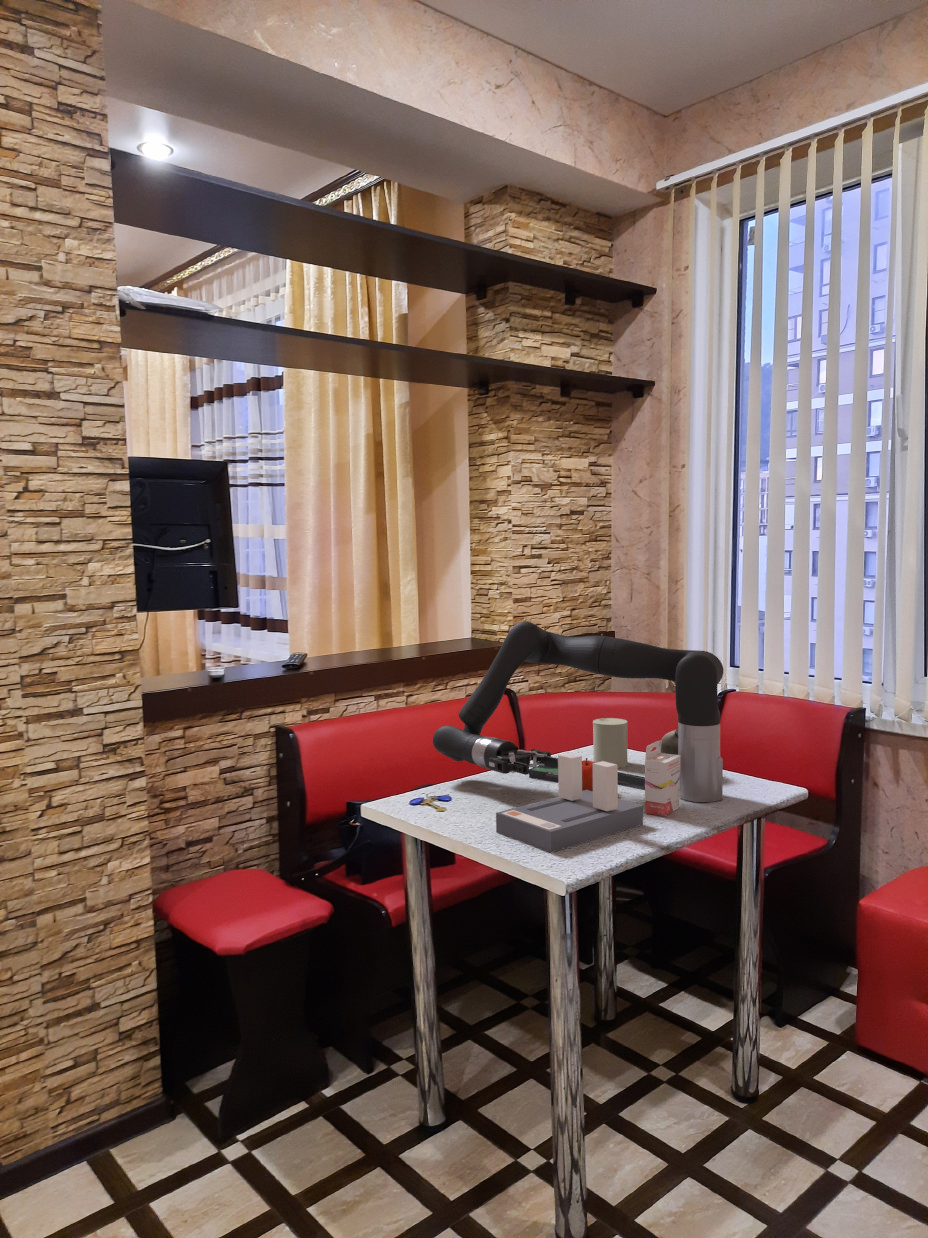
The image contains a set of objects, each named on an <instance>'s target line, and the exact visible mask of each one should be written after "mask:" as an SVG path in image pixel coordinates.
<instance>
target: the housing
mask: <svg viewBox="0 0 928 1238" xmlns="http://www.w3.org/2000/svg"><path fill="white" fill-rule="evenodd" d="M643 825H644V805H643V804H640V803H635V802H631V801H630V800H625V799H621V798H618V809H614V810H611V811H604V810H601V809H598V808H594V807H593V791H590V790H584V791H582V798H581V799H577V800H573V801H571V800H568V799H564V798H561V797H559V796H557V797H553V798H548V799H544V800H541V801H536V802H533V803H528V804H526V805H525V804H524V805H522V806H517V807H513V808H509V809H506V810H502V811H498V812H495V826H496V827H495V829H496V830H495V831H496V833H498V834H501V835H503V836H506V837H508V838H511V839H514V840H516V841H519V842H521V843H525V844H527V845H529V846H532V847H535V848H536V849H541V850H542V851H546V852H547V853H554V852H558V851H561V850H564V849H568V848H571V847H575V846H577V845H580V844H584V843H588V842H590V841H594V840H596V839H601V838H603V837H607V836H610V835H613V834H617V833H620V832H623V831H626V830H630V829H632V828H635V827H639V826H643Z"/></svg>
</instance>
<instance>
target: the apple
mask: <svg viewBox="0 0 928 1238" xmlns="http://www.w3.org/2000/svg"><path fill="white" fill-rule="evenodd" d="M593 763H596V762H593V760H588V757H586V758H585V759H584V760H583V759H582V791H584V790H590V791H593Z"/></svg>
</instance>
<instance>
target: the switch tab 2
mask: <svg viewBox="0 0 928 1238" xmlns="http://www.w3.org/2000/svg"><path fill="white" fill-rule="evenodd" d="M618 769H619V768H618V767H617V764H613V763H608V762H604V761H601V762H597V763H593V807H594V808H598V809H601V810H604V811H611V810H614V809H618V799H619V797H618V795H619V793H618V790H619V788H618V787H619V785H618V772H619V770H618Z"/></svg>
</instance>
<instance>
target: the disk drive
mask: <svg viewBox="0 0 928 1238" xmlns="http://www.w3.org/2000/svg"><path fill="white" fill-rule="evenodd" d="M556 758H557V760H558V757H556ZM528 778H529V779H536V780H541V781H549V782H554V783H558V767H557V768H551V767H547V766H541V765H537V766H536V767H530V768H529V774H528Z"/></svg>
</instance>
